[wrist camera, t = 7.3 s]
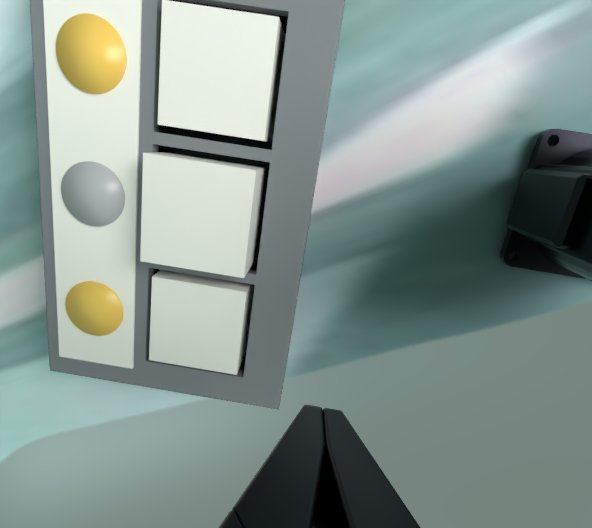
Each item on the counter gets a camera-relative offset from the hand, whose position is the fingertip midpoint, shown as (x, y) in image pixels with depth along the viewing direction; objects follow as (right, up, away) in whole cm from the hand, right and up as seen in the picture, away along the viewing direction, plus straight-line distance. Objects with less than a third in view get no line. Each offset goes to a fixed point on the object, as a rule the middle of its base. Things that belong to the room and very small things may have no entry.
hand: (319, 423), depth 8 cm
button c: (-5, +1, +12) cm, 13 cm away
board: (-6, +7, +11) cm, 14 cm away
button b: (-4, +6, +9) cm, 12 cm away
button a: (-3, +12, +8) cm, 15 cm away
